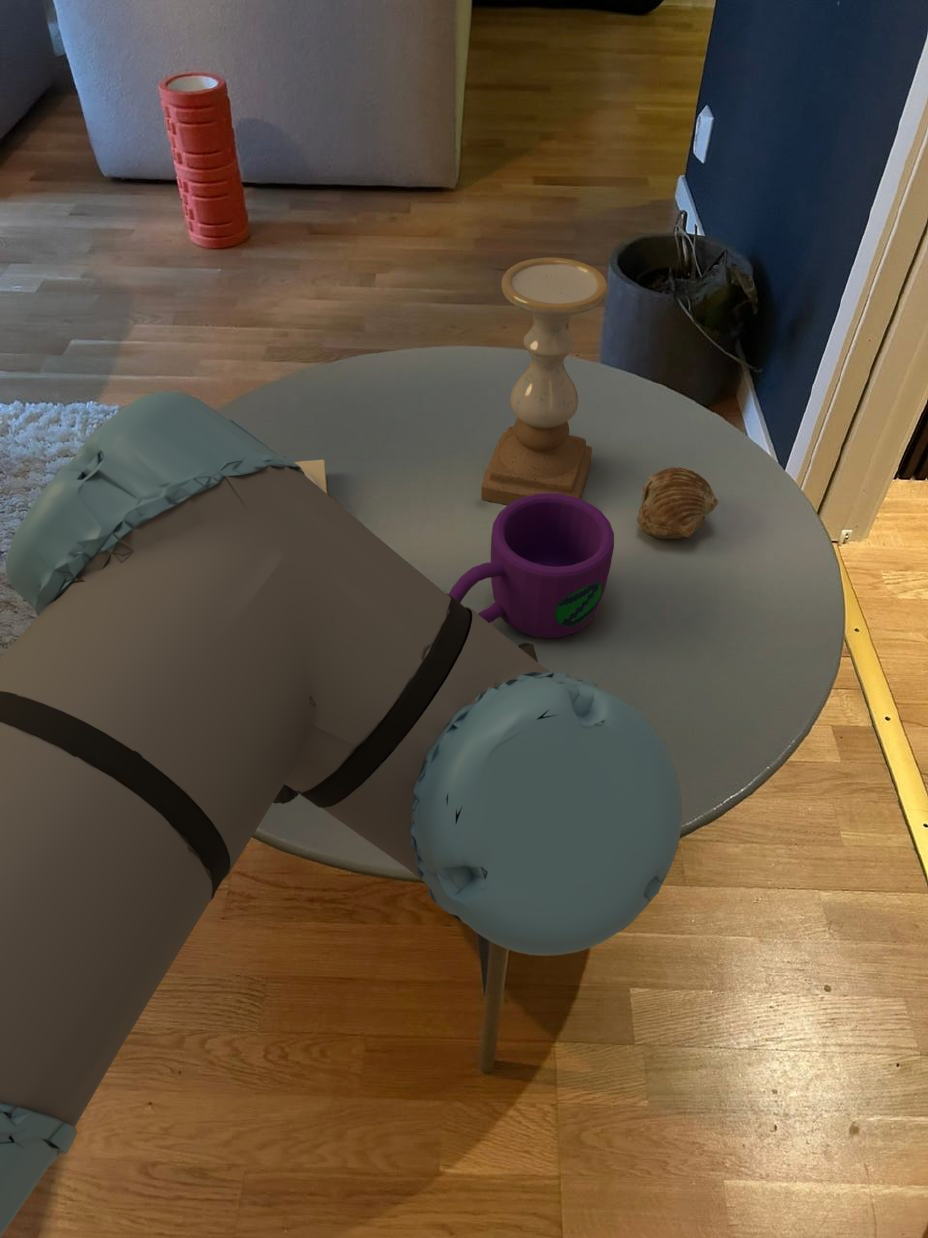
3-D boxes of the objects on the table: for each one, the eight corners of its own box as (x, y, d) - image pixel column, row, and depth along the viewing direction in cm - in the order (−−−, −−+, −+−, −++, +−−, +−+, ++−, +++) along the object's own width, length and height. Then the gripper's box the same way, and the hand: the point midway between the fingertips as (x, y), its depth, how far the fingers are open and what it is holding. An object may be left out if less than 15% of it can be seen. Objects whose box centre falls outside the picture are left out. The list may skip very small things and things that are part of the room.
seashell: (711, 512, 102) (641, 492, 103) (730, 461, 96) (657, 440, 98) (698, 563, 95) (624, 541, 97) (718, 511, 90) (640, 488, 91)
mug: (559, 551, 96) (568, 476, 89) (625, 619, 89) (641, 544, 82) (415, 612, 90) (412, 537, 82) (475, 690, 83) (477, 616, 76)
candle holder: (575, 517, 100) (602, 316, 82) (479, 499, 102) (485, 299, 84) (592, 458, 107) (619, 262, 89) (502, 443, 109) (511, 248, 91)
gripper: (157, 940, 35) (175, 821, 55) (707, 740, 42) (542, 700, 62) (100, 756, 34) (139, 705, 55) (667, 582, 41) (514, 594, 61)
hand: (353, 702), depth 59 cm, fingers open, 13 cm apart
